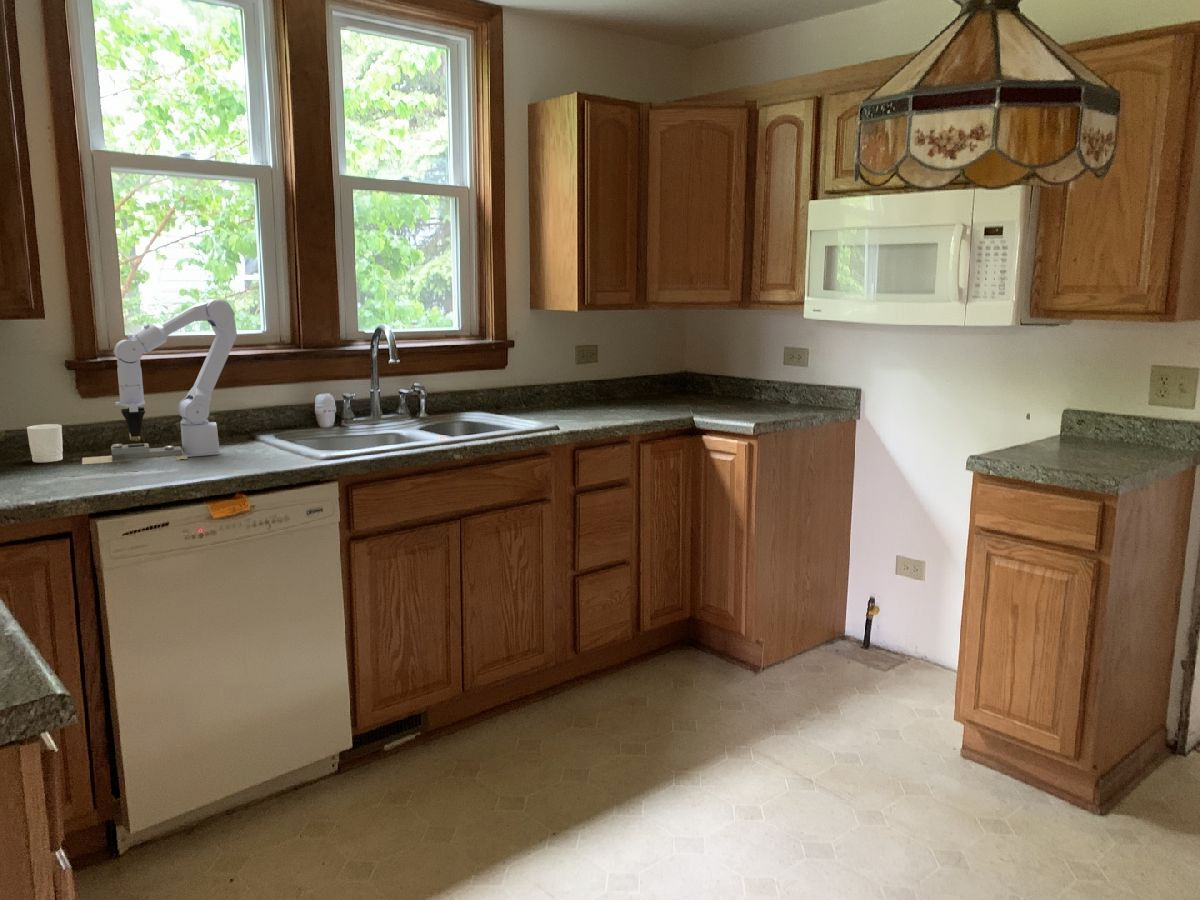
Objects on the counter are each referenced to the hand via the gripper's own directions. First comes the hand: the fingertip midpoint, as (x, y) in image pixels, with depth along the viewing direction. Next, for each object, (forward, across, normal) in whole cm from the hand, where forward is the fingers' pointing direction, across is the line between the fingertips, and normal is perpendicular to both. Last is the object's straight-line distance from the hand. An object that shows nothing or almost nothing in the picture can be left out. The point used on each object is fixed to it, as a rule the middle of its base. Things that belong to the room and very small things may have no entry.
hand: (135, 435), depth 244 cm
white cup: (+7, -6, -21) cm, 23 cm away
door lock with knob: (+7, 0, 0) cm, 7 cm away
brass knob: (+1, 0, 0) cm, 1 cm away
